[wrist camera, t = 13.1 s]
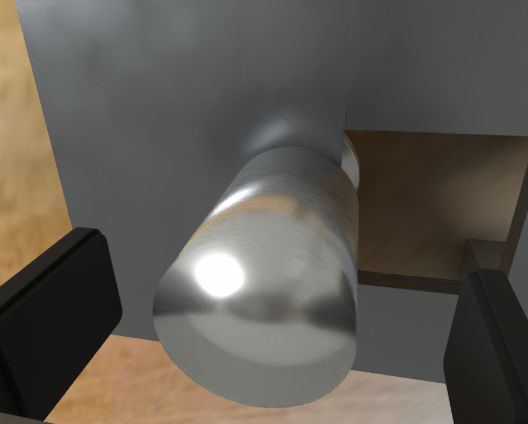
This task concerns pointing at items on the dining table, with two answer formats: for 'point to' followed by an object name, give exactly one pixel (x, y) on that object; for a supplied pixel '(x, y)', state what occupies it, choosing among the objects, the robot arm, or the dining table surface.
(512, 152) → the dining table surface
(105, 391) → the dining table surface
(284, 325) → the peg
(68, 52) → the grey windowed bracket
